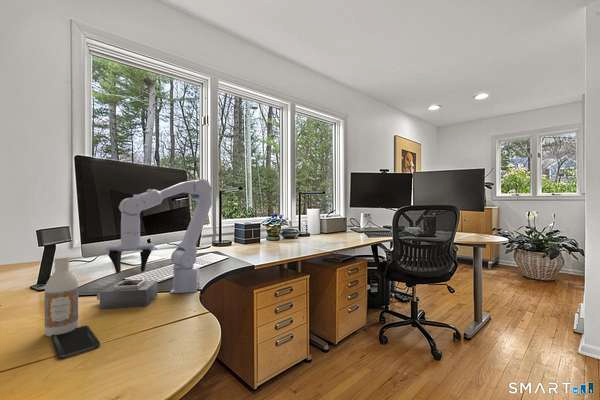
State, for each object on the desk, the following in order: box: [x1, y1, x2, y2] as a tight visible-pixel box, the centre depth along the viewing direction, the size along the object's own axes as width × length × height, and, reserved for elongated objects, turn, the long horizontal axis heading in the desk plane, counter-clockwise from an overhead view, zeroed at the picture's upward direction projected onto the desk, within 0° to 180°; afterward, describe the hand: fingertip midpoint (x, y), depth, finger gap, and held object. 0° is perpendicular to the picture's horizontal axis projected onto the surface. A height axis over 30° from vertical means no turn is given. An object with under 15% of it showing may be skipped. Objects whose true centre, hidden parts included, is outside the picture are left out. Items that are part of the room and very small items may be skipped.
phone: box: [50, 325, 101, 360], centre depth 70 cm, size 8×1×15 cm
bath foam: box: [44, 255, 79, 338], centre depth 76 cm, size 7×7×20 cm
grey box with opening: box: [96, 278, 158, 310], centre depth 98 cm, size 17×11×7 cm, turn 100°
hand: (130, 271), depth 98 cm, fingers open, 7 cm apart
